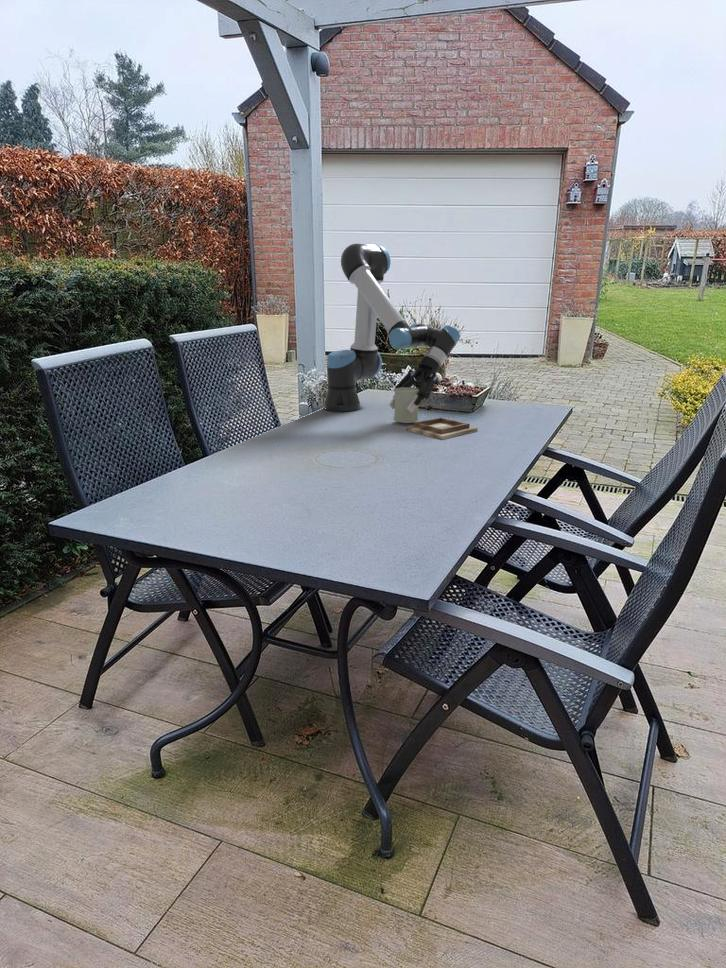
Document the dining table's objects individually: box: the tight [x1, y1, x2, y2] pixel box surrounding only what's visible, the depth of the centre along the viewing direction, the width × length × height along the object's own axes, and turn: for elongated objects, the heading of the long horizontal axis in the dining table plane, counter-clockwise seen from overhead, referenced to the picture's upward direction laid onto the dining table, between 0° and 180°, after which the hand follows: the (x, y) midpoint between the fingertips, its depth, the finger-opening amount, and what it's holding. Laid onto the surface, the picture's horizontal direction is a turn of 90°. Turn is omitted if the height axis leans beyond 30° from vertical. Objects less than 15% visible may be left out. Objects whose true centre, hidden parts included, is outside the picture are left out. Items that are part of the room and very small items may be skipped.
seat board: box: [405, 417, 478, 440], centre depth 227 cm, size 18×18×3 cm
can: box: [393, 387, 420, 424], centre depth 238 cm, size 9×9×12 cm
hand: (400, 408), depth 236 cm, fingers closed on can, 9 cm apart
